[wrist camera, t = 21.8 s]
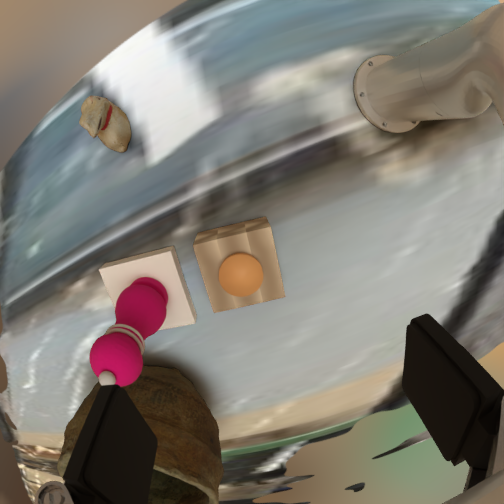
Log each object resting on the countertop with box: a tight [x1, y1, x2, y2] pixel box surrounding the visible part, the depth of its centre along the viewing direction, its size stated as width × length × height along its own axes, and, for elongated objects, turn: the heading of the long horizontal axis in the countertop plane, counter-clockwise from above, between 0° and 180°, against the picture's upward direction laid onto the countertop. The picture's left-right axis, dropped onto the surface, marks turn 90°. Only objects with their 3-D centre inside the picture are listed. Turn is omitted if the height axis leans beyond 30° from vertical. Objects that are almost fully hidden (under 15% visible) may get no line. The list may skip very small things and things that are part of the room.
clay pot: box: [57, 365, 224, 504], centre depth 42 cm, size 25×25×25 cm
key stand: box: [193, 217, 285, 313], centre depth 43 cm, size 10×10×6 cm
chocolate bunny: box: [79, 96, 131, 152], centre depth 34 cm, size 6×8×10 cm
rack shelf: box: [99, 246, 197, 330], centre depth 45 cm, size 12×12×2 cm
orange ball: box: [219, 253, 263, 297], centre depth 42 cm, size 6×6×7 cm
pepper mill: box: [90, 277, 168, 387], centre depth 35 cm, size 7×7×20 cm
